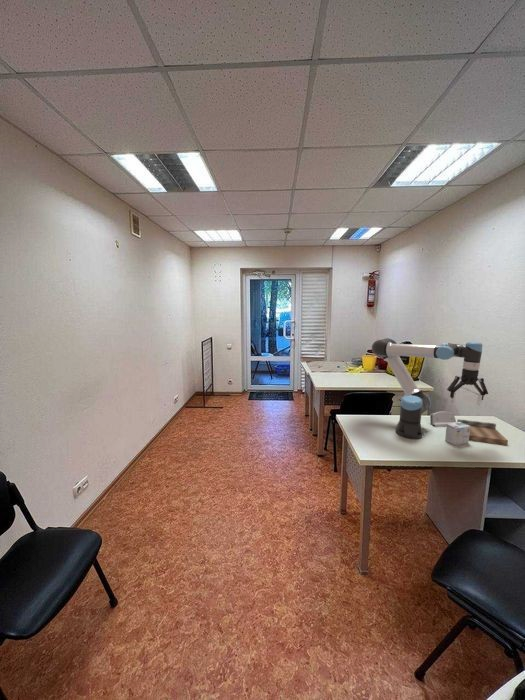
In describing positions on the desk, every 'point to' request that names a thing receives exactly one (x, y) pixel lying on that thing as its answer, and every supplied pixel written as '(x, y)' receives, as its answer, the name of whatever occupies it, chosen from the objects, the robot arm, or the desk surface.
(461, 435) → the light bulb box
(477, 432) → the walnut stand
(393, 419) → the desk surface
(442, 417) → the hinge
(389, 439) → the desk surface
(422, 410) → the robot arm
